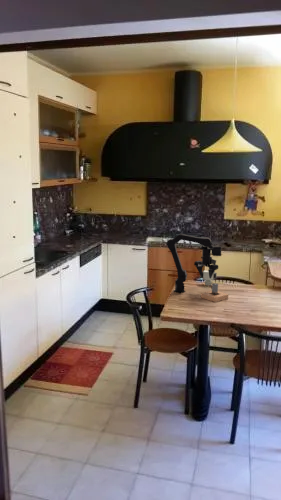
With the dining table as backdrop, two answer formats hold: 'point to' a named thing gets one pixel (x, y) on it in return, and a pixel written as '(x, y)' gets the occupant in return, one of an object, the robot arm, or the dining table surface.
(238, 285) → the dining table surface
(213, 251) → the robot arm
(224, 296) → the docking socket
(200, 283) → the dining table surface
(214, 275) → the pneumatic valve
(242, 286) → the dining table surface
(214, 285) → the cylinder
